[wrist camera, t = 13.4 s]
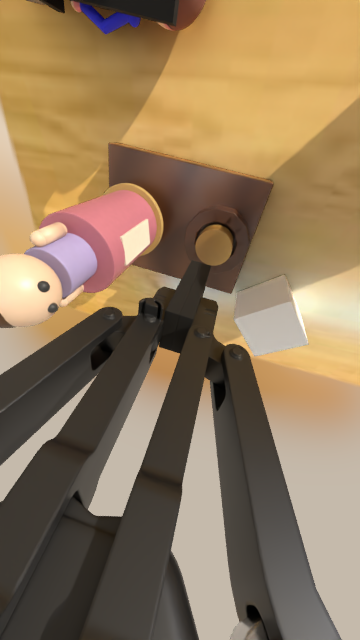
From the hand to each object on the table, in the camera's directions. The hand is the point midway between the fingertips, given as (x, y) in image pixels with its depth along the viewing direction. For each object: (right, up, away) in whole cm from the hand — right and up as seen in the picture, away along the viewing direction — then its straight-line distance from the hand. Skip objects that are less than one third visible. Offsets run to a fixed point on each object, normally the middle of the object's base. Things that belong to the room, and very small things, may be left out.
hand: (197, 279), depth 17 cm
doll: (-6, +7, +7) cm, 12 cm away
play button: (+2, +5, +6) cm, 8 cm away
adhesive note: (+10, -1, +12) cm, 16 cm away
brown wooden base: (-1, +8, +9) cm, 12 cm away
